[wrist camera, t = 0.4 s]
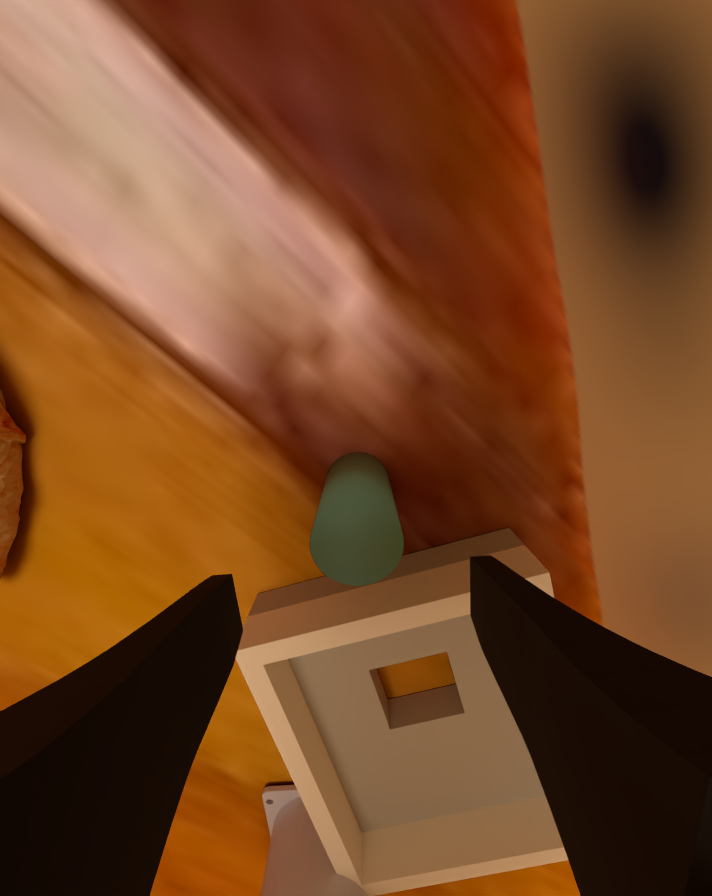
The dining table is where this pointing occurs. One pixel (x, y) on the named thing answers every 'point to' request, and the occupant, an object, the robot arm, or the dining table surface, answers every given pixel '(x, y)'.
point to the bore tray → (400, 723)
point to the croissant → (9, 480)
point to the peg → (357, 523)
